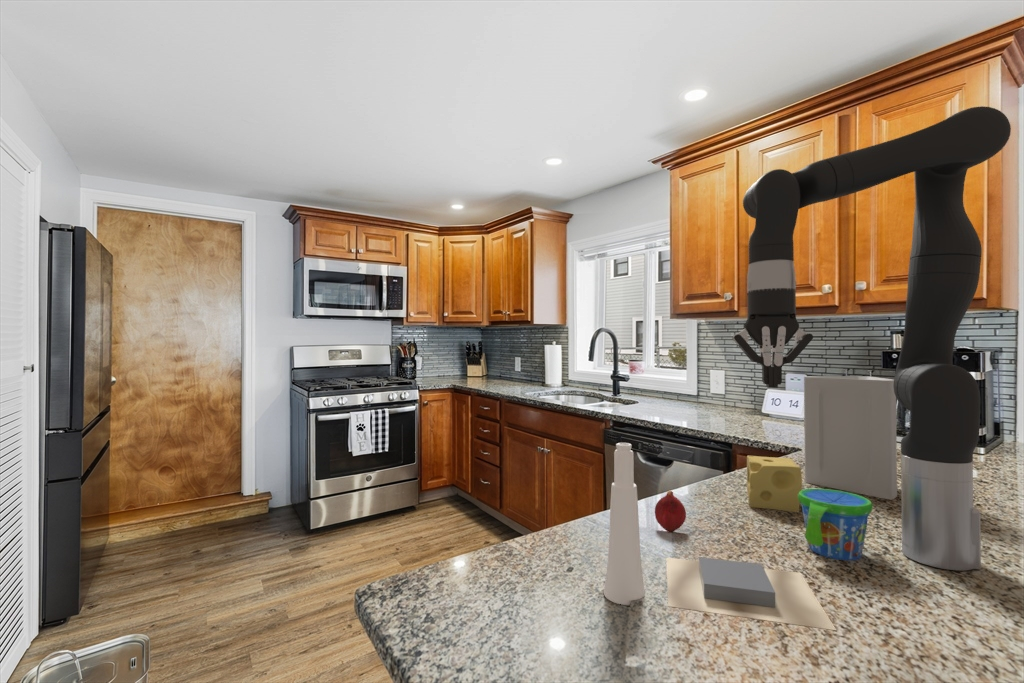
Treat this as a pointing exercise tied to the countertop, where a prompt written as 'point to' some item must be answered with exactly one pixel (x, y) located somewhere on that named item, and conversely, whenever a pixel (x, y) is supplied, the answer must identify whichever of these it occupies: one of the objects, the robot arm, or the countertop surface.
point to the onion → (670, 512)
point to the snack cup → (835, 522)
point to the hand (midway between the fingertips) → (771, 387)
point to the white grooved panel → (851, 434)
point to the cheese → (773, 483)
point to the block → (736, 582)
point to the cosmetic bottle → (624, 533)
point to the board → (790, 604)
